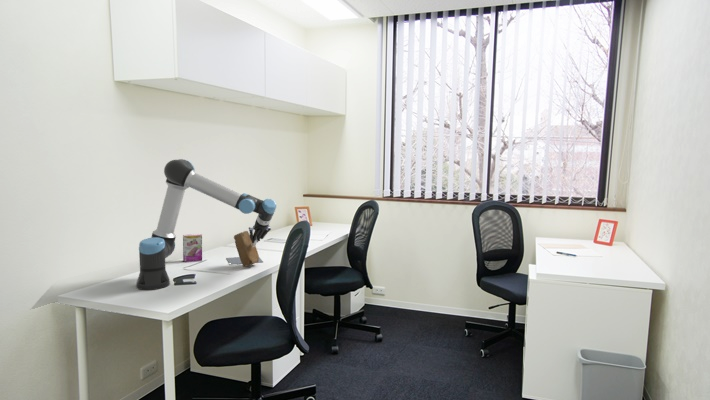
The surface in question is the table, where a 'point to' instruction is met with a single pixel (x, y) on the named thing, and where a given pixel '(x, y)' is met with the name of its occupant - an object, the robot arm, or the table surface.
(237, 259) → the mat
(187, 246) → the candy bar box
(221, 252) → the table surface
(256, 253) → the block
